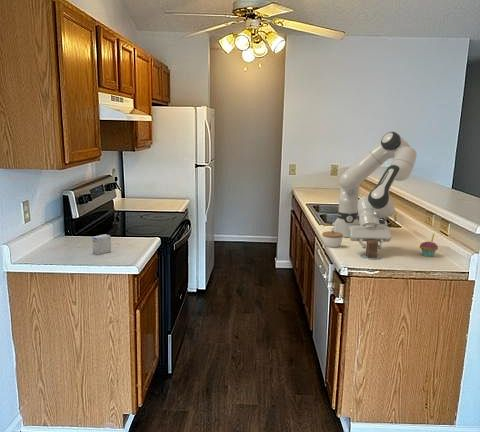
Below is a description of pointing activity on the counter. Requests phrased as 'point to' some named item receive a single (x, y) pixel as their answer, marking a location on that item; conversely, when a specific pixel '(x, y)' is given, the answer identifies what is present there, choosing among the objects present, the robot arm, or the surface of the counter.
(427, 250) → the cupcake
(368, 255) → the brown rectangular block
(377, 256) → the slate saucer
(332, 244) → the lidded jar
